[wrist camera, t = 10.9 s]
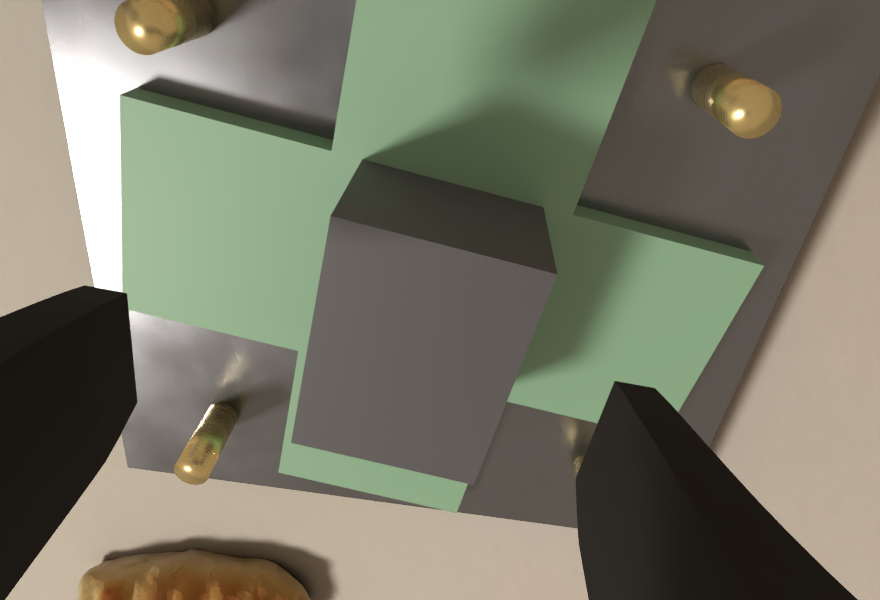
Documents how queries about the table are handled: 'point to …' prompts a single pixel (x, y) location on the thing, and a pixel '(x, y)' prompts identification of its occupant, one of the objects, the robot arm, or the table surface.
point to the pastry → (189, 578)
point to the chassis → (606, 189)
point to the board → (442, 119)
